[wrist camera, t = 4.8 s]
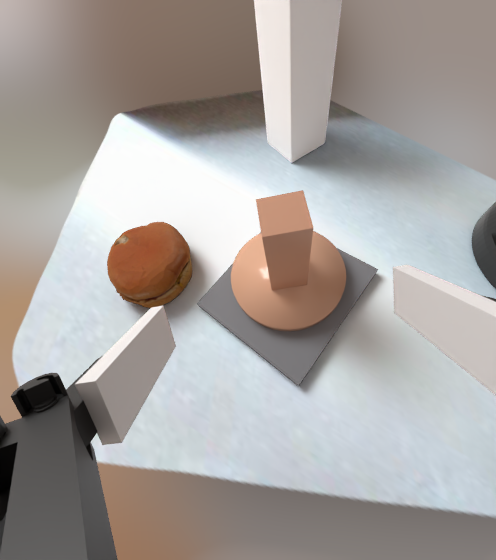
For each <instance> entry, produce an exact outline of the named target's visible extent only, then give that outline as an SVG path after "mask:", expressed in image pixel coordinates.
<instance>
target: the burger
mask: <svg viewBox="0 0 496 560" xmlns="http://www.w3.org/2000/svg"><path fill="white" fill-rule="evenodd" d="M107 266H108V275H109V278H110V281H111V282H112V284H113V285H114V286H115V288H116V291H117V293H120V296H122V298H123V300H124V299H125V300H126V301H129V302H133V303H136V304H139V305H142V306H143V307H148V308H152V307H158V306H161V305H164V304H166V303H168V302H170V301H172V300H173V299H174V298H176V297H177V296H178V295H179V294H180V293H181V292H182V291H183V290H184V288H185V287H186V285H187V284H188V282H189V281H190V278H191V276H192V264H191V258H190V249H189V246H188V244H187V242H186V241H185V239H184V238H183V236H182V235H181V234H180V233H179V232H178V231H177V229H175V228H174V227H173V226H171V225H169V224H167V223H164V222H154V223H150V224H149V225H147V226H140V227H137V228H133V229H130V230H128V231H126V232H124V233H123V234H122V235H121V236H120V237H119V238H118V239H117V240H116V241H115V243H114V244H113V245H112V247H111V250H110V253H109V256H108V261H107Z"/></svg>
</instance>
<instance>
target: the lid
mask: <svg viewBox="0 0 496 560" xmlns="http://www.w3.org/2000/svg"><path fill="white" fill-rule="evenodd" d="M256 202H257V208H258V215H259V221H260V228H261V233H260V234H258V235H257V236H255V237H253V238H252V239H251V240H249V241H248V242H247V243H246V244H245V245H244V246H243V247H242V249H241V250H240V251H239V253H238V254H237V256H236V258H235V260H234V263H233V266H232V271H231V285H232V290H233V293H234V296H235V298H236V300H237V302H238V304H239V305H240V307H241V308H242V310H243V311H244V312H245V313H246V314H247V315H248V316H249V317H250V318H251V319H252V320H254V321H255V322H257V323H258V324H260V325H262V326H264V327H267V328H270V329H273V330H279V331H298V330H303V329H306V328H309V327H312V326H314V325H316V324H318V323H320V322H321V321H323V320H324V319H326V318H327V317H328V316H329V315H330V314H331V313H332V312H333V311H334V309H335V308H336V306H337V305H338V303H339V301H340V299H341V297H342V294H343V292H344V289H345V284H346V268H345V264H344V261H343V259H342V256H341V255H340V253H339V251H338V250H337V249H336V247H335V246H334V245H333V244H332V243H331V242H330V241H329V240H328V239H326V238H325V237H324V236H322V235H320V234H318V233H316V232H314V231H313V225H312V221H311V218H310V214H309V210H308V207H307V203H306V200H305V196H304V192H303V191H298V192H292V193H287V194H282V195H277V196H272V197H267V198H261V199H256Z"/></svg>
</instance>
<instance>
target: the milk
mask: <svg viewBox="0 0 496 560" xmlns="http://www.w3.org/2000/svg"><path fill="white" fill-rule="evenodd" d="M254 4H255V15H256V25H257V35H258V46H259V56H260V67H261V78H262V88H263V98H264V109H265V119H266V130H267V140H268V144H269V145H270V146H272V147H273V148H274V149H275V150H276V151H278V152H279V153H280V154H281V155H282V156H283V157H285V158H286V159H287V160H288V161H289V162H291V163H293V162H294V161H296V160H298V159H299V158H301V157H303V156H304V155H306V154H308V153H309V152H311V151H313V150H315V149H316V148H318V147H320V146H321V145H323V144H325V139H326V130H327V122H328V113H329V105H330V97H331V88H332V80H333V71H334V63H335V54H336V47H337V46H336V45H337V38H338V29H339V21H340V13H341V5H342V0H254Z"/></svg>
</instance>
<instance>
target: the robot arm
mask: <svg viewBox="0 0 496 560" xmlns="http://www.w3.org/2000/svg"><path fill="white" fill-rule="evenodd" d="M472 248H473V253H474V256H475V259H476V262H477V264H478V266H479V268H480V269H481V271H482V273H483V274H484V275H485V277H486V278H487V279H488V281H489V282H490V283H491V284H492V285H493V286H494V287H495V288H496V202H495V203H494V204H493V205H492V206H491V207H490V208H489V209H488V210H487V211H486V212H485V213H484V214H483V215H482V216H481V218H480V219H479V220H478V222H477V223H476V225H475V228H474V231H473V235H472ZM393 283H394V313H395V314H396V315H397V316H399V317H400V318H401V319H402V320H404V321H405V322H406V323H407V324H409V325H410V326H411V327H412V328H413V329H415V330H416V331H417V332H418V333H420V334H421V335H422V336H423V337H425V338H426V339H427V340H428V341H429V342H431V343H432V344H433V345H434V346H436V347H437V348H438V349H439V350H441V351H442V352H443V353H444V354H445V355H447V356H448V357H449V358H450V359H452V360H453V361H454V362H455V363H457V364H458V365H459V366H460V367H461V368H463V369H464V370H465V371H466V372H468V373H469V374H470V375H471V376H473V377H474V378H475V379H476V380H477V381H479V382H480V383H481V384H482V385H484V386H485V387H486V388H487V389H489V390H490V391H491V392H492V393H493V394H495V395H496V299H494V298H490V297H485V296H481V295H478V294H476V293H474V292H471V291H469V290H467V289H464V288H462V287H459V286H457V285H455V284H452V283H450V282H448V281H445V280H443V279H440V278H438V277H436V276H433V275H431V274H428V273H426V272H424V271H421V270H419V269H417V268H414V267H412V266H409V265H403V266H397V267H393ZM175 347H176V345H175V342H174V338H173V335H172V332H171V328H170V325H169V322H168V319H167V315H166V312H165V309H164V306H158V307H152V308H150V309H149V310H148V311H147V312H146V313H145V314H144V315H143V316H142V317H141V318H140V319H139V320H138V321H137V322H136V323H135V324H134V325H133V326H132V327H131V328H130V329H129V330H128V331H127V332H126V333H125V334H124V335H123V336H122V337H121V338H120V339H119V340H118V341H117V342H116V343H115V344H114V345H113V346H112V347H111V348H110V349H109V350H108V351H107V352H106V353H105V354H104V355H103V356H102V357H100V358H99V359H97V360H96V361H95V362H94V363H93V364H92V365H91V366H90V367H89V369H87V370H86V371H85V372H84V373H83V375H81V376H80V377H79V378H78V379H77V380H76V381H75V382H74V383H73V384H72V385H71V386H70V387H69V388H68V389H67V390H66V389H65V387H64V385H63V383H62V381H61V379H60V377H59V375H58V374H57V373H49V374H45V375H42V376H39V377H36V378H34V379H32V380H30V381H28V382H27V383H25V384H23V385H22V386H20V387H19V388H18V389H17V390H16V391H14V392H13V394H12V395H11V398H12V400H13V402H14V403H15V405H16V407H17V409H18V411H19V412H20V414H21V416H22V418H21V419H18V420H15V421H12V422H9V423H6V424H5V423H4V422H3V420H2V418H1V417H0V560H117V555H116V550H115V546H114V541H113V536H112V532H111V527H110V522H109V518H108V513H107V508H106V504H105V500H104V494H103V490H102V485H101V480H100V476H99V471H98V466H97V462H96V457H95V452H94V449H93V446H92V444H91V440H92V439H93V437H94V436H95V435H96V433H97V434H98V436H99V438H100V440H101V443H102V445H106V444H114V443H122V441H123V440H124V438H125V436H126V434H127V432H128V431H129V429H130V427H131V425H132V424H133V422H134V420H135V418H136V416H137V415H138V413H139V411H140V409H141V407H142V406H143V404H144V402H145V400H146V399H147V397H148V395H149V393H150V391H151V390H152V388H153V386H154V384H155V383H156V381H157V379H158V377H159V375H160V374H161V372H162V370H163V368H164V367H165V365H166V363H167V361H168V359H169V358H170V356H171V354H172V352H173V350H174V349H175Z"/></svg>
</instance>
